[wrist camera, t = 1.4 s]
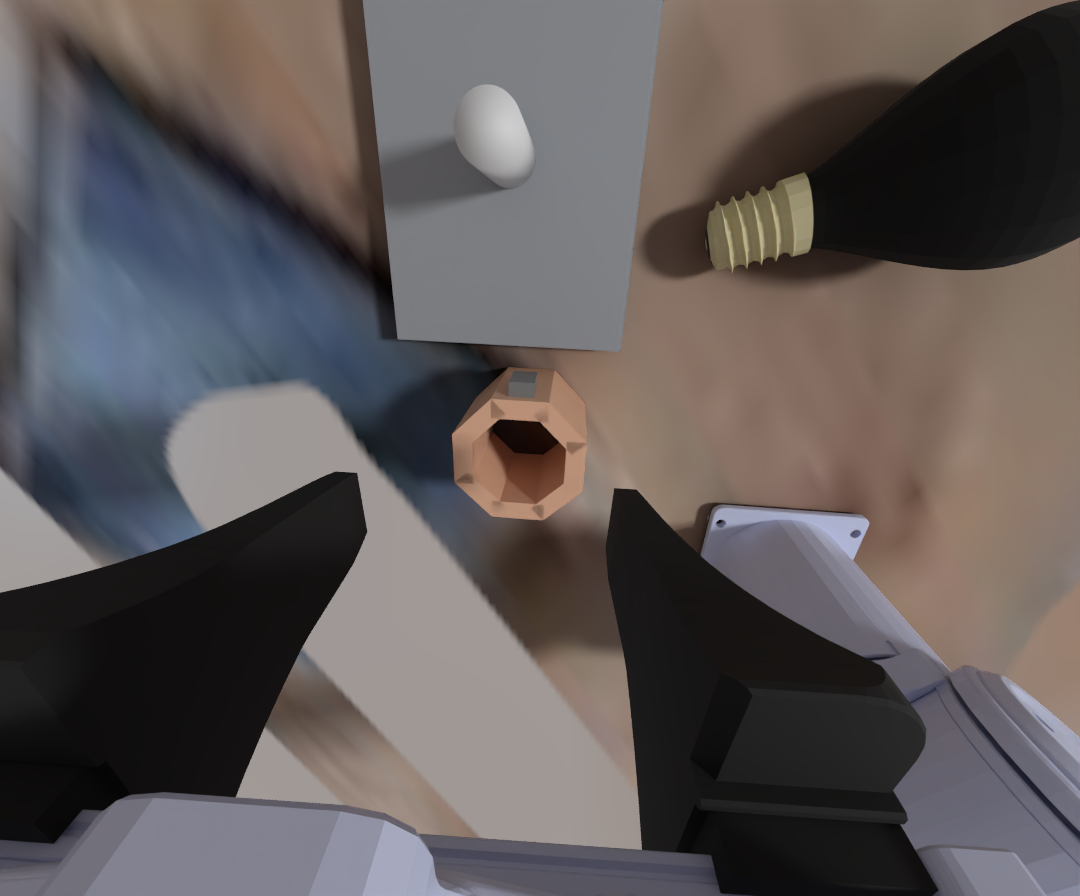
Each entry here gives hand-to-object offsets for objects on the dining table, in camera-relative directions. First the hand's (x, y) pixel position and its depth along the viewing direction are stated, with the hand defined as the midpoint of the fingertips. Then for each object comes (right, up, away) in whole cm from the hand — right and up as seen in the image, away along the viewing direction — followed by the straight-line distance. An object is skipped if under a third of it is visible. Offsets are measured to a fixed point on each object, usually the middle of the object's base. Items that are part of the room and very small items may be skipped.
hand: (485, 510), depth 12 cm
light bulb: (+14, +12, +5) cm, 19 cm away
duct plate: (0, +13, +5) cm, 14 cm away
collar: (+1, +3, +10) cm, 10 cm away
